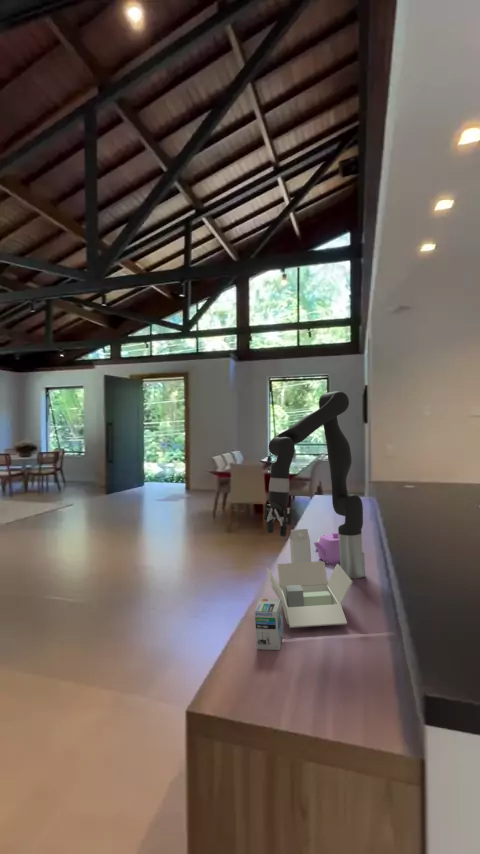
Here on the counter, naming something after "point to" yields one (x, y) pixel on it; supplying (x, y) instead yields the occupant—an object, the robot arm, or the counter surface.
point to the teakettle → (329, 548)
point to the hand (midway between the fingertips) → (276, 534)
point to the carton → (312, 581)
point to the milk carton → (300, 546)
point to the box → (306, 597)
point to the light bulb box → (269, 624)
